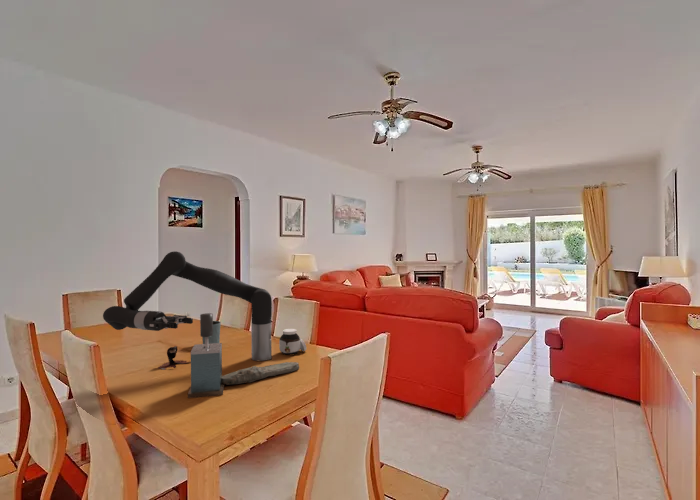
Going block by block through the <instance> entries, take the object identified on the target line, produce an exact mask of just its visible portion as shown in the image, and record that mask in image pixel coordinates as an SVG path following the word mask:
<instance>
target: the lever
mask: <svg viewBox="0 0 700 500" xmlns="http://www.w3.org/2000/svg"><path fill="white" fill-rule="evenodd" d="M199 316H200V317H199V318H200V321H199V322H200V326H199V327H200V334H199V335H200V337H201V338H202V337H205V348H209V346H208V337H209V336H212V335H213V321H214V314H213V313H210V312H209V313H208V312H207V313H200V315H199Z"/></svg>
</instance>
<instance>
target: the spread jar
mask: <svg viewBox="0 0 700 500" xmlns="http://www.w3.org/2000/svg"><path fill="white" fill-rule="evenodd" d="M297 331H298V330H297V329H296V328H285V329H283V330H282V334H281V336H280V337H279V340H278V341H279V343H278V344H279V345H278V346H279V351H280V353H281V354H282V355H284V354H285V356H294V355H296V354H298V353H299V352H300V351H301V350H302V351H301V352H303V351H304V352H306V351H307V344H306V342H305V341H304V339H302V338H300V335H298V333H297ZM293 354H294V355H293Z"/></svg>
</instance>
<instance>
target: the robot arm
mask: <svg viewBox="0 0 700 500" xmlns="http://www.w3.org/2000/svg"><path fill="white" fill-rule="evenodd" d="M171 276H174V277H177V278H181V279H185V280H188V281H191V282H194V283H195V284H198V285H199V286H202V287H204V288H206V289H209V290H211V291H214V292H215V293H216V292H217V293H220V294H222V295H226V296H231V297H236V298H238V299H242V300H243V301H246V302H247V303H249V304H251V318H250V319H251V320H250V321H251V322H250V323H251V360H252V361H255V362H263V361H269V360H272V355H273V354H272V315H273V313H272V312H273V310H272V306H273V305H272V302H273V300H272V295H271V294H270V292H269V291H268V290H266V289H264V288H262V287H257V286H253V285H250V284H247V283H245V282H243V281H242V280H239V279H237V278H236V277H234V276H231V275H229V274H227V273H225V272H222V271H219V270H217V269H212V268H208V267H207V268H206V267H200V266H198V265H195V264H193V263H190V262H189V261H187V260H186V257H185V255H184V254H183V253H182V252H180V251H175V250H174V251H169V252H168V253H166V255H164V258H163V259H162V260H161V261H160V262H159V264H158V265H157V267H155V269H153V271H152V272H151V273H150V274H149V275H148V276H147V277H145V279H144V280H143V281H142V282H141V283H140V284H138V285H137V286H136V287H135V288H134V289H133V290H132V291H131V292H130V293H129V294H128V295H127V296H126V297H125V298H124V299H123V303H124V305H125V307H124V306H119V305H114V306H110V307H107V308H106V309H105V310H104V311H103V313H102V318H103V321H105V322H106V323H107V324H108V325H110V326H111V327H112V329H115V330H117V331H121V330H124V329H125V328H130V329H138V330H139V329H140V330H142V331H154V332H158V331H159V332H160V331H162V330H166V329H167V330H168V329H178V327H179V326H178V325H179V324H186V325H187V324H189V325H191V324H193V323H194V321H193V317H188V315H182V314H181V315H178V314H173V315H166V313H165V312H163V311H157V310H140V309H141V308H142V307H143V306H144V304H146V303H147V302H148V301H149V300H150V299H151V298H152V296H153V295H154V294H155V293H156V292H157V290H158V289H159V288H160V287H161V286H162V284H163V283H164V282H166V280H167V279H169V278H170V277H171Z"/></svg>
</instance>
